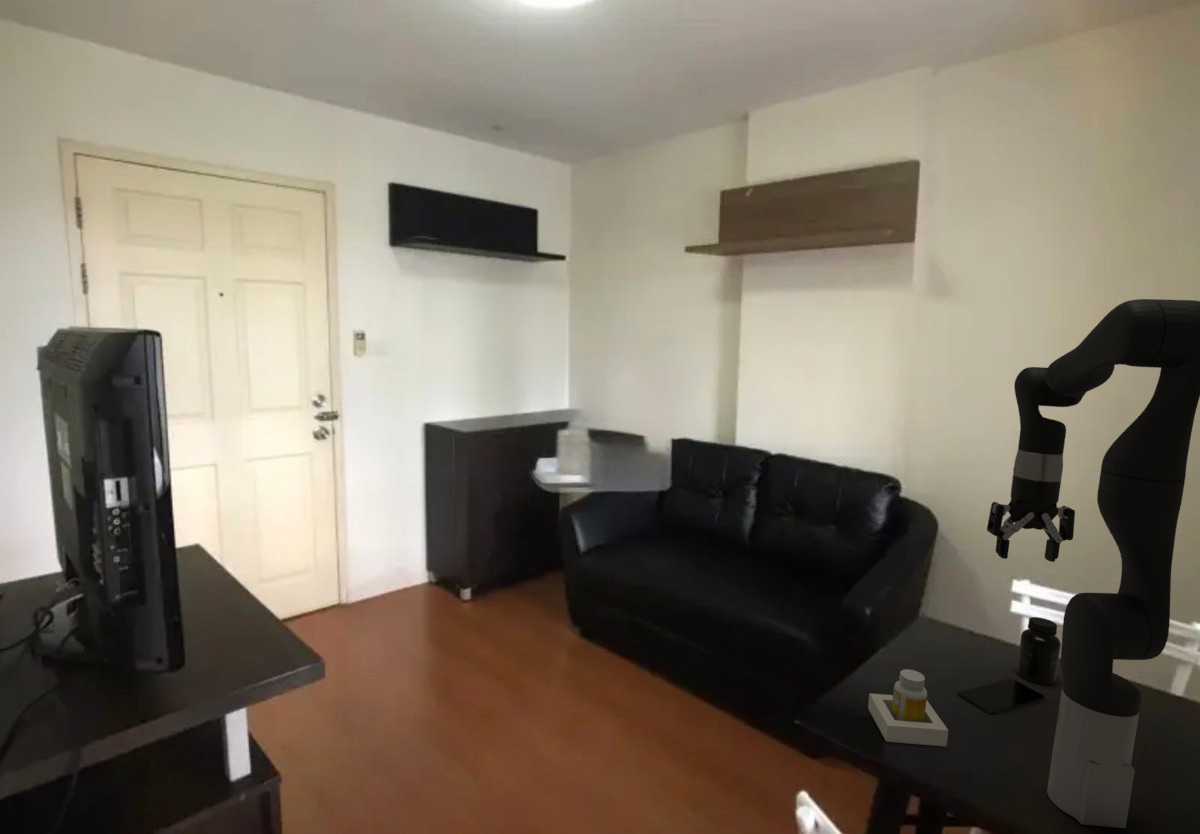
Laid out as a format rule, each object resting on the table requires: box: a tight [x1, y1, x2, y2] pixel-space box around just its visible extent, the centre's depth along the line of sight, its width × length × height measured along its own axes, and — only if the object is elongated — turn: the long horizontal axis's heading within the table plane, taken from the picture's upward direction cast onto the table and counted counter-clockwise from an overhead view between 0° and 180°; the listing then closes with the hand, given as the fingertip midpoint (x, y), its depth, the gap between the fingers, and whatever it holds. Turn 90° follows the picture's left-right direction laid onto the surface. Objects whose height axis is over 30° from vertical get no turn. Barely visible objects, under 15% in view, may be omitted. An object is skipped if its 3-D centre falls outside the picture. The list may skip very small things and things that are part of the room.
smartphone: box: [956, 678, 1047, 716], centre depth 130 cm, size 8×1×16 cm
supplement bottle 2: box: [1016, 616, 1062, 686], centre depth 137 cm, size 7×7×12 cm
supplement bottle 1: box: [891, 669, 928, 723], centre depth 118 cm, size 5×5×10 cm
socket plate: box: [867, 693, 949, 748], centre depth 119 cm, size 10×10×3 cm
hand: (1026, 558), depth 126 cm, fingers open, 8 cm apart
